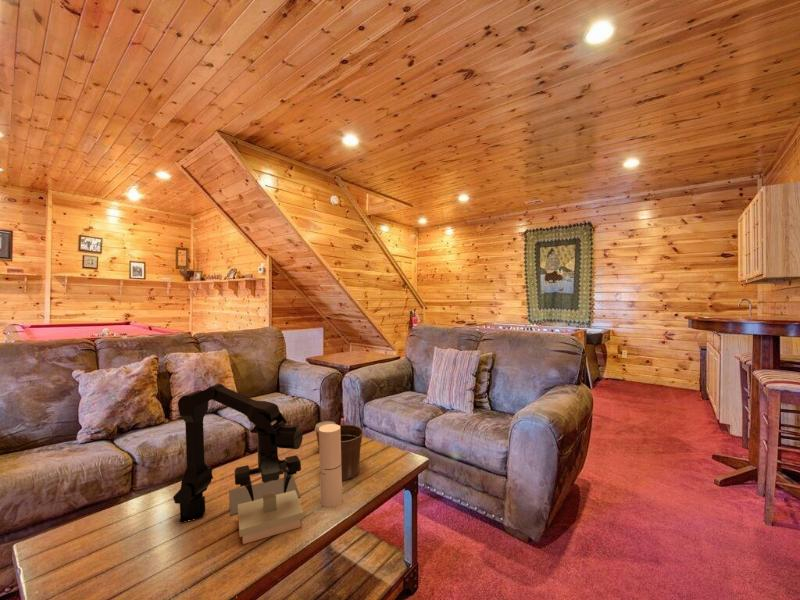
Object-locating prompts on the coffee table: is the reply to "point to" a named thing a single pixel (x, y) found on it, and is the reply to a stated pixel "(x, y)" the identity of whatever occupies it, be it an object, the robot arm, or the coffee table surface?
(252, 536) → the box
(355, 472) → the plant pot
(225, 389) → the robot arm
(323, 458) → the cylindrical container
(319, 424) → the disposable coffee cup
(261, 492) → the mat
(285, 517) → the lid
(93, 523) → the coffee table surface
